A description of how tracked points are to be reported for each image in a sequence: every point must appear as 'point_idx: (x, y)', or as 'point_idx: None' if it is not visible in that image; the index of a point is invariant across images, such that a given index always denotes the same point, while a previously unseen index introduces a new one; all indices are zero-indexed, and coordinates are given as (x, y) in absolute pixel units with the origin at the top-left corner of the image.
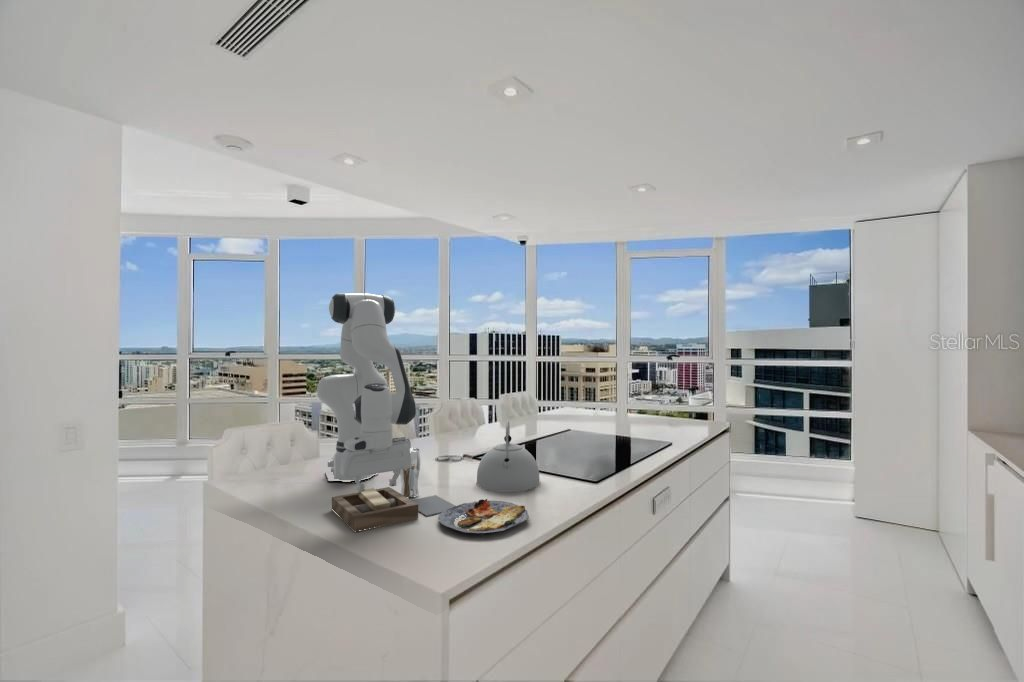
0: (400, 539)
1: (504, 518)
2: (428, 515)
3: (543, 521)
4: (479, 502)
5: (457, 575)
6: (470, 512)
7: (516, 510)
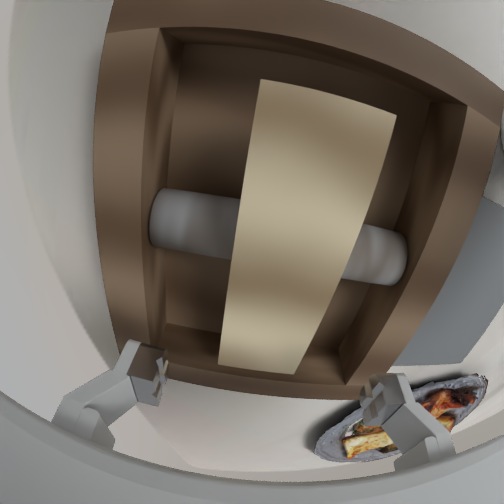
0: (223, 411)
1: None
2: None
3: None
4: (459, 403)
5: (223, 468)
6: None
7: None
